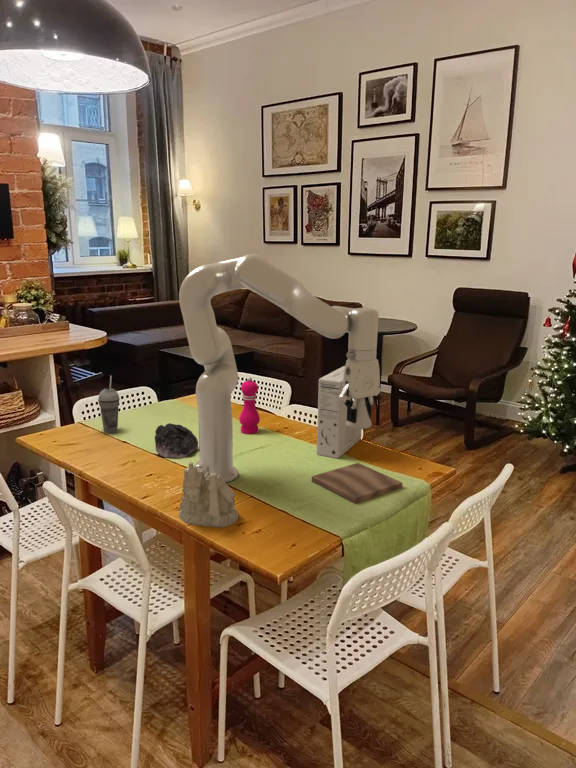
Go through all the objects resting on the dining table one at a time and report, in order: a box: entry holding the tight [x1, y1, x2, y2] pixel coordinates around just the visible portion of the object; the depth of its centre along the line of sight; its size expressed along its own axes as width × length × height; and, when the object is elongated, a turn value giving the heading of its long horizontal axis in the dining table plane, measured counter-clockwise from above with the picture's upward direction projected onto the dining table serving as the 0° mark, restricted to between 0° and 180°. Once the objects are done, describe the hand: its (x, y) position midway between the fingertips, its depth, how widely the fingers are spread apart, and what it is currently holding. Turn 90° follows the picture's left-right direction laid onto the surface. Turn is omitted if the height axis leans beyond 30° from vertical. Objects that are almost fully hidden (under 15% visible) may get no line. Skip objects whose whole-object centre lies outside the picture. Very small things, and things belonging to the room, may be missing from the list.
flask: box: [345, 398, 373, 430], centre depth 163 cm, size 7×7×10 cm
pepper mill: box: [239, 376, 261, 435], centre depth 210 cm, size 7×7×20 cm
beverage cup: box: [97, 375, 120, 434], centre depth 208 cm, size 7×7×20 cm
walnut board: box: [311, 462, 403, 505], centre depth 168 cm, size 18×18×2 cm
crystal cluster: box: [154, 422, 199, 459], centre depth 191 cm, size 13×14×10 cm
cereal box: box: [316, 365, 362, 459], centre depth 195 cm, size 22×8×25 cm, turn 154°
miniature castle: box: [178, 461, 239, 528], centre depth 149 cm, size 16×16×15 cm
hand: (358, 419), depth 164 cm, fingers closed on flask, 4 cm apart
